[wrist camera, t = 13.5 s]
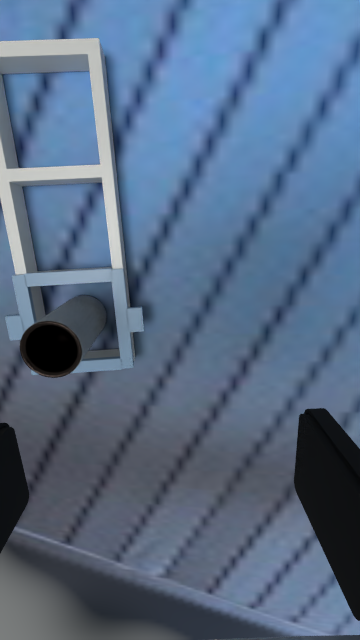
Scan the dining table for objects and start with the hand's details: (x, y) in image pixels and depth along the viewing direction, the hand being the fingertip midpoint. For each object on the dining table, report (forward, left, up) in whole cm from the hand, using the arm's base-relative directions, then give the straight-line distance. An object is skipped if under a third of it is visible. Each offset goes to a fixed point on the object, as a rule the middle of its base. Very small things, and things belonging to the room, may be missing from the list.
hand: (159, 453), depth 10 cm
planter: (+6, -6, -23) cm, 25 cm away
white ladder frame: (-1, -12, -23) cm, 26 cm away
